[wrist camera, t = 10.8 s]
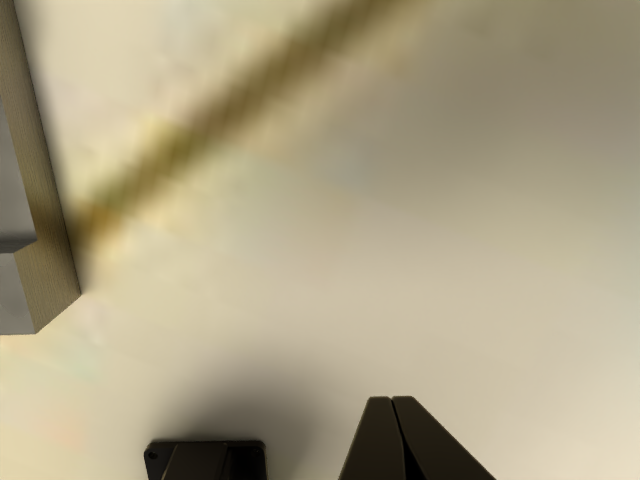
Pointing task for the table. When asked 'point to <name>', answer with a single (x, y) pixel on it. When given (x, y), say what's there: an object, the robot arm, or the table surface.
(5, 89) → the slotted plate
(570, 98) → the table surface
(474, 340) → the table surface
